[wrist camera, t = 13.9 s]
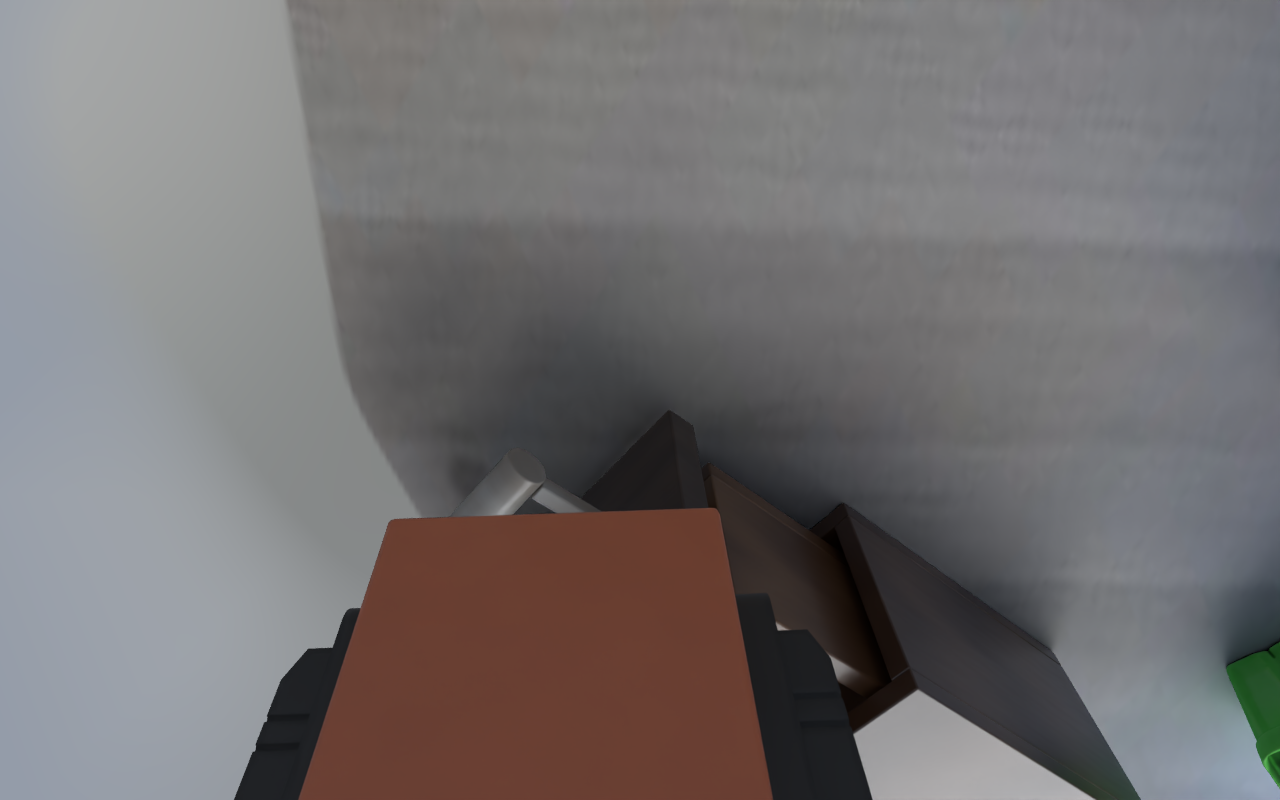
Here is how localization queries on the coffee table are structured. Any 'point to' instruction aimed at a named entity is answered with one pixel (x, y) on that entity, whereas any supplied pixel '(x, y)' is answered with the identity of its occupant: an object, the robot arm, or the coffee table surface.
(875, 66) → the coffee table surface
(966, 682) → the cabinet
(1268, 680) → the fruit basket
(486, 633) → the block
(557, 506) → the drawer
